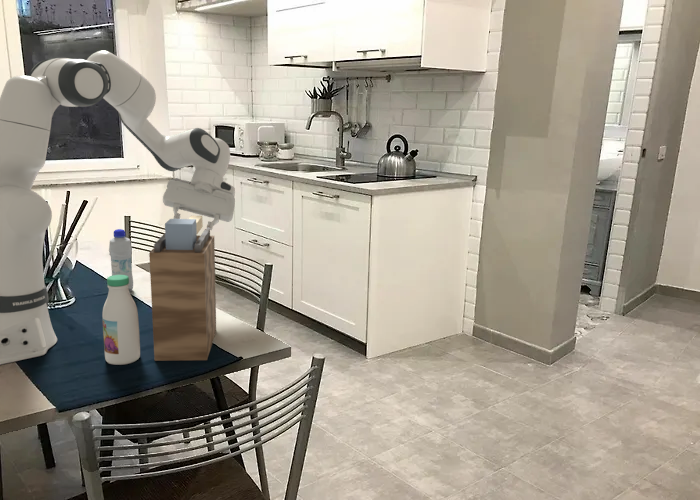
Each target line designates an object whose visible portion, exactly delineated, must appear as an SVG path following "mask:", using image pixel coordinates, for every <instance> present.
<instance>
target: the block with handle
mask: <svg viewBox="0 0 700 500" xmlns="http://www.w3.org/2000/svg"><path fill="white" fill-rule="evenodd" d="M203 223H204V222H203V215H190V216H189V217H188V218H180V219H173V218H169V219H168V220H167V221H166V222H165V224H164V232H165V233H164V234H165V239H166V250H193V249H194V245H195V243H196V242H197V236H198V234H199V232H200V231H201V229H203Z"/></svg>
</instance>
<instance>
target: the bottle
mask: <svg viewBox="0 0 700 500" xmlns="http://www.w3.org/2000/svg"><path fill="white" fill-rule="evenodd" d="M108 251H109V256H110V266H111V269H110V270H111V276H113V275H126V276H128V277H129V286H128V289H129V292H132V290H133V289H134V277H133V264H132V254H133V247H132V243H131V239H130V238H128V237H126V231H125V230H124V229H121V228H119V229H115V230H113V237H112V238H111V239H110V240H109V246H108Z"/></svg>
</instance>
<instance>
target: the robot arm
mask: <svg viewBox="0 0 700 500" xmlns="http://www.w3.org/2000/svg"><path fill="white" fill-rule="evenodd" d="M102 99H103V100H105V101H106V102H107V103H108V104H109V105H111V106H112V107H113V108H114V109H115V110H116V111H117V112H118V117H119V120H120V122H121V124H123V126H124V127H125V128H126V129H127V130H128V132H130V133H131V134H132V136H133V137H134V138H136V140H138V141H139V142H140V143H141V144H142V145H143V146H144V148H146V150H148V152H150V154H151V155H152V156H153V158H154V159H155V160H156V162H157V163H158V164H159V165H160V167H161V168H163V169H164V170H166V171H168V172H176V171H179V170H181V169H183V168H186V167H189V166H193V167H194V172H193V174H192V176H191V180H190V181H188V180H185V179H181V178H179V177H177V178H172V179H168V182H167V184H166V190H165V191H164V194H163V196H162V203H163V205H164V206H166V207H170V208H172V211H173V214H174V215H173V218H172V219H181V213H179V210H181V211H184V212H187V213H193V214H196V215H198V216H202V217H203V216H204V217H207V218H212V221H207V225H206V229H210V231H212V230H213V228H214V226H215V225H217V224H218V223H219V221H223V222H226V223H230V222H231V221H233V217H234V212H235V208H236V207H235V205H236V198H235V196H236V195H235V194H236V188H235V187H234V186H233V185H231V184H229V183H228V182H226V181H225V180H224V176H225V175H226V174H227V171H228V167H229V163H230V158H231V151H230V150H231V149H230V146H229V145H228V143H227V142H226V141H224V140H223V139H221V138H218V137H213V136H212V135H211V134H210V133H208V131H207V130H205V129H202V128H201V127H195V128H191V129H189V130H186V131H183V132H180V133H177V134H173V135H164V134H161V132H160V131H159V130H158V129H157V128H156V127H155V126H154V125H153V124H152V123H151V122H150V120H148V118H149V117H150V116H151V114H152V113H153V111H154V107H155V105H156V99H157V94H156V90H155V87H154V86H153V85H152V84H151V82H150V81H149V80H148V79H147V78H146V77H145V76H144V75H142V74H141V73H140V72H139V71H138V70H137V69H135V68H134V67H133V66H131V65H130V64H129V63H128V62H126V61H125V60H124V59H122V58H120V56H118V55H116V54H114V53H112V52H110V51H108V50H98V51H96V52H94V53H92V54H91V55H90V56H88V57H87V59H83V58H68V57H56V58H48V59H47V58H46V59H44V60H43V59H42V60H41V61H39V62H37V64H35V65H34V66H33V68H31V70H30V71H29V72H28V73H27V75H16V76H12V77H10V78H8V80H6V83H5V84H4V87H3V89H2V92H1V95H0V365H4V364H5V365H6V364H9V363H13V362H18V361H22V360H27V359H32V358H37V357H41V356H44V355H45V354H47V352H48V350H49V349H50V348H52V347H54V345H55V344H56V343H57V342H58V337H57V336H56V333H55V331H54V329H53V325H52V322H51V318H50V317H51V316H50V314H49V294H48V287H47V285H46V284H45V279H44V277H45V276H44V266H43V265H44V263H43V251H44V241H45V235H46V230H48V228H49V227H50V224H51V223H52V219H53V213H52V209H51V207H50V204H49V203H48V201H46V199H44V198H43V196H41V195H40V194H39V193H37V192H36V191H34V190H32V188H33V186H34V182H35V180H36V177H38V174H39V172H40V170H42V168H43V167H44V165H45V164H46V159H47V158H46V157H47V152H48V148H49V140H50V135H51V129H52V128H51V127H52V121H53V119H52V118H53V117H54V114H55V113H54V112H55V111H56V110H57V109H58V107H60V105H61V106H62V107H70V108H71V107H73V108H74V107H75V108H78V107H81V108H84V107H86V108H87V107H91V106H94V105H96V104H97V103H99V102H100V101H102Z"/></svg>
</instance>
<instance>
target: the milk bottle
mask: <svg viewBox="0 0 700 500" xmlns="http://www.w3.org/2000/svg"><path fill="white" fill-rule="evenodd" d="M106 282H107V283H106V284H107V288H108V293H107V296H106V297H107V298H106V300H105V302H104V305H103V307H102V317H101V318H102V333H103V334H102V337H103V347H104V348H103V349H104V350H103V351H104V359H105V361H106V362H107V364H109V365H115V366H116V365H117V366H118V365H119V366H122V365H128V364H132V363H134V362H136V361H137V360H139V358H140V357H141V342H140V341H141V340H140V325H139V314H138V307H137V305H136V302H135V300H134V299H133V297H132V295H131V293H130V292H131V291H130V292H129V289H128V286H129V277H128V276H126V275H113V276H112V275H110V276H107V278H106Z"/></svg>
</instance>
